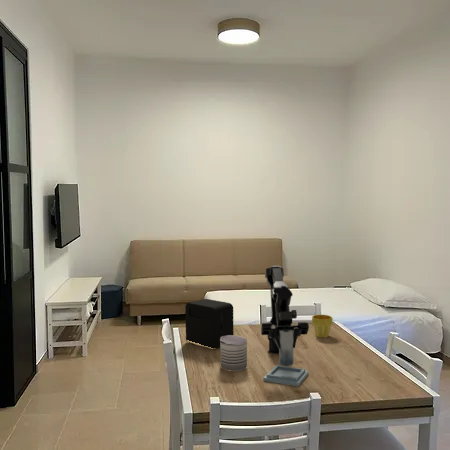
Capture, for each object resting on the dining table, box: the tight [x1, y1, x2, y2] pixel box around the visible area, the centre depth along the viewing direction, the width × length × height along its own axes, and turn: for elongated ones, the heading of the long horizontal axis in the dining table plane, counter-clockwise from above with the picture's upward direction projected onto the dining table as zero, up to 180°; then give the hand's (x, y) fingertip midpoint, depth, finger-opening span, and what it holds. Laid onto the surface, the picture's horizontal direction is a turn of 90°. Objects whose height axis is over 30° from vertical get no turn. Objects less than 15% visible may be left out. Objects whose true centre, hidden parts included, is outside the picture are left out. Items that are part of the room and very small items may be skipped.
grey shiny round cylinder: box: [278, 329, 295, 367], centre depth 191 cm, size 6×6×13 cm
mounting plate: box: [262, 364, 309, 387], centre depth 191 cm, size 14×14×2 cm
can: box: [219, 335, 248, 372], centre depth 204 cm, size 11×11×12 cm
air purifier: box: [184, 298, 235, 349], centre depth 237 cm, size 20×15×20 cm
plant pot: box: [311, 314, 334, 338], centre depth 248 cm, size 10×10×10 cm
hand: (286, 347), depth 189 cm, fingers closed on grey shiny round cylinder, 6 cm apart
